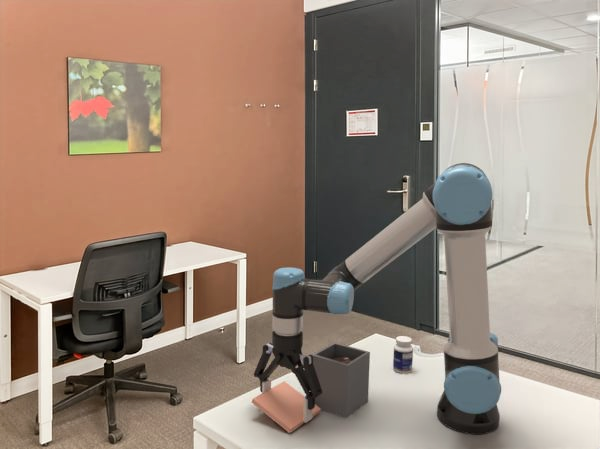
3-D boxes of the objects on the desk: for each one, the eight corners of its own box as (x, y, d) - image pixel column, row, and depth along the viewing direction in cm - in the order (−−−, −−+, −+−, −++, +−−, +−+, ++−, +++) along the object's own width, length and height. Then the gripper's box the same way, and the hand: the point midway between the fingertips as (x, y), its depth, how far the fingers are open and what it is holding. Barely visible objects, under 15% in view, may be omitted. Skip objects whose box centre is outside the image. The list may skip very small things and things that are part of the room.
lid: (318, 415, 144) (321, 408, 143) (288, 436, 134) (290, 429, 133) (282, 387, 150) (284, 381, 149) (250, 405, 140) (252, 398, 139)
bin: (368, 401, 150) (369, 352, 148) (346, 418, 141) (348, 365, 139) (332, 390, 157) (334, 342, 154) (310, 405, 148) (311, 354, 145)
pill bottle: (389, 367, 172) (391, 336, 171) (406, 365, 174) (408, 334, 172) (398, 374, 167) (399, 343, 165) (415, 372, 169) (417, 341, 167)
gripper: (338, 337, 134) (335, 421, 137) (259, 316, 148) (258, 392, 152) (320, 347, 128) (318, 434, 131) (239, 324, 142) (240, 403, 146)
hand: (286, 412), depth 142 cm, fingers closed on lid, 12 cm apart
